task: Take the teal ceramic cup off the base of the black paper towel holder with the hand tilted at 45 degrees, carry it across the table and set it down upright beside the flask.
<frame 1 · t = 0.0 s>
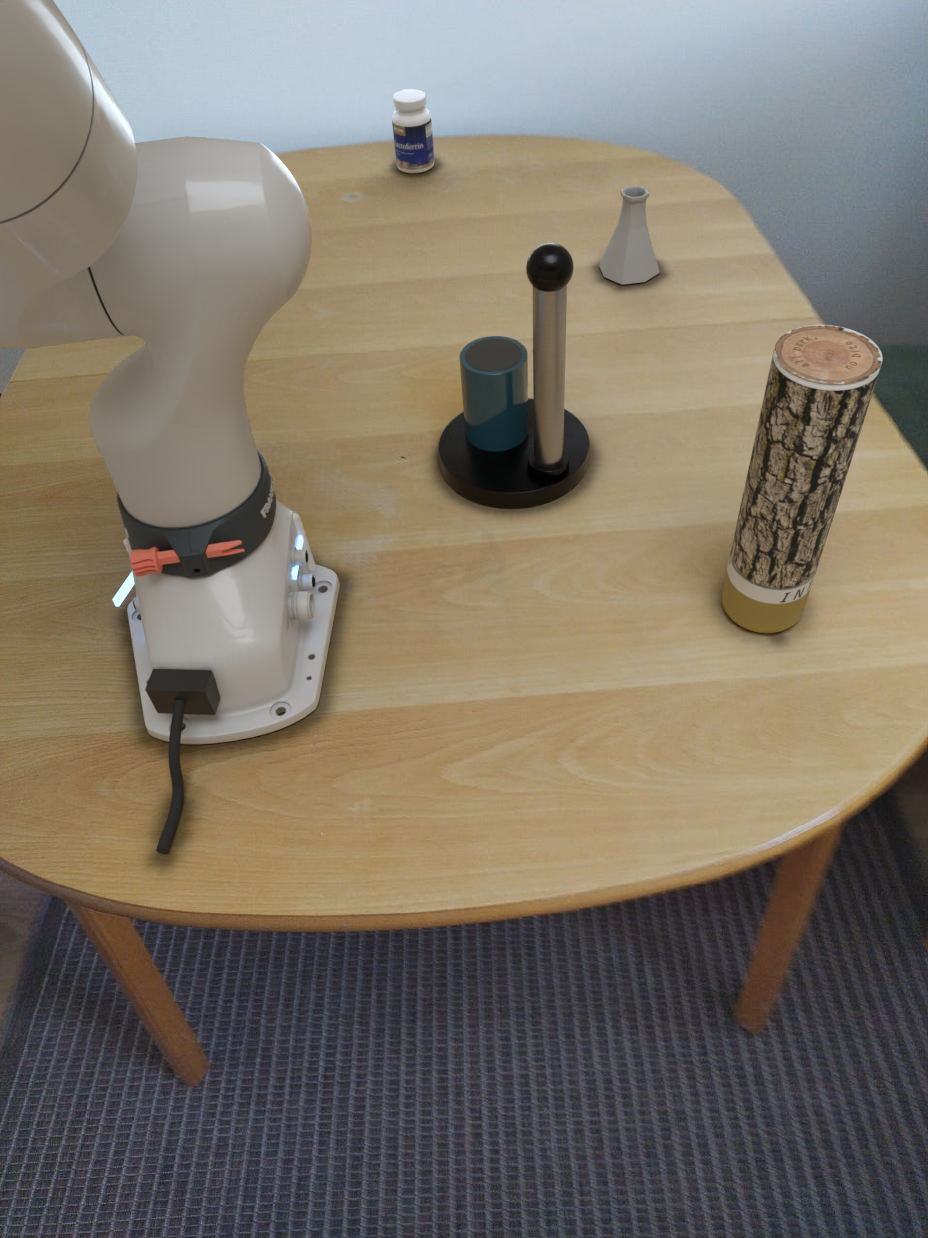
cup: (496, 431, 95), point 2 cm above the table, touching towel holder
paper tube: (760, 608, 81), on the table
flask: (628, 272, 118), on the table
pill bottle: (416, 167, 141), on the table
towel holder: (513, 458, 95), on the table
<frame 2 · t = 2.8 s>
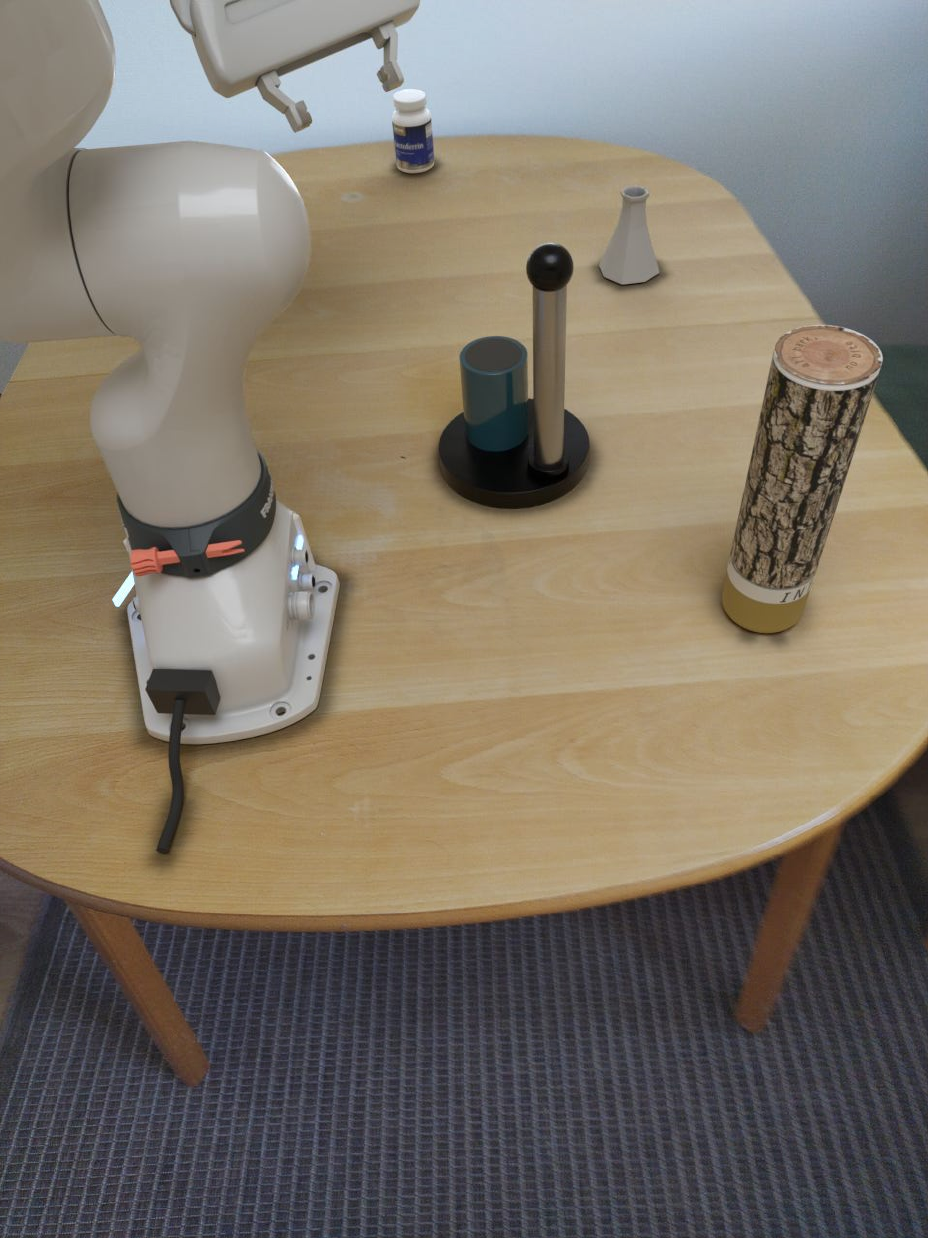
hand: (350, 106, 83), 29 cm above the table, tool tilted 35°, fingers open, 8 cm apart
nothing on the table moved.
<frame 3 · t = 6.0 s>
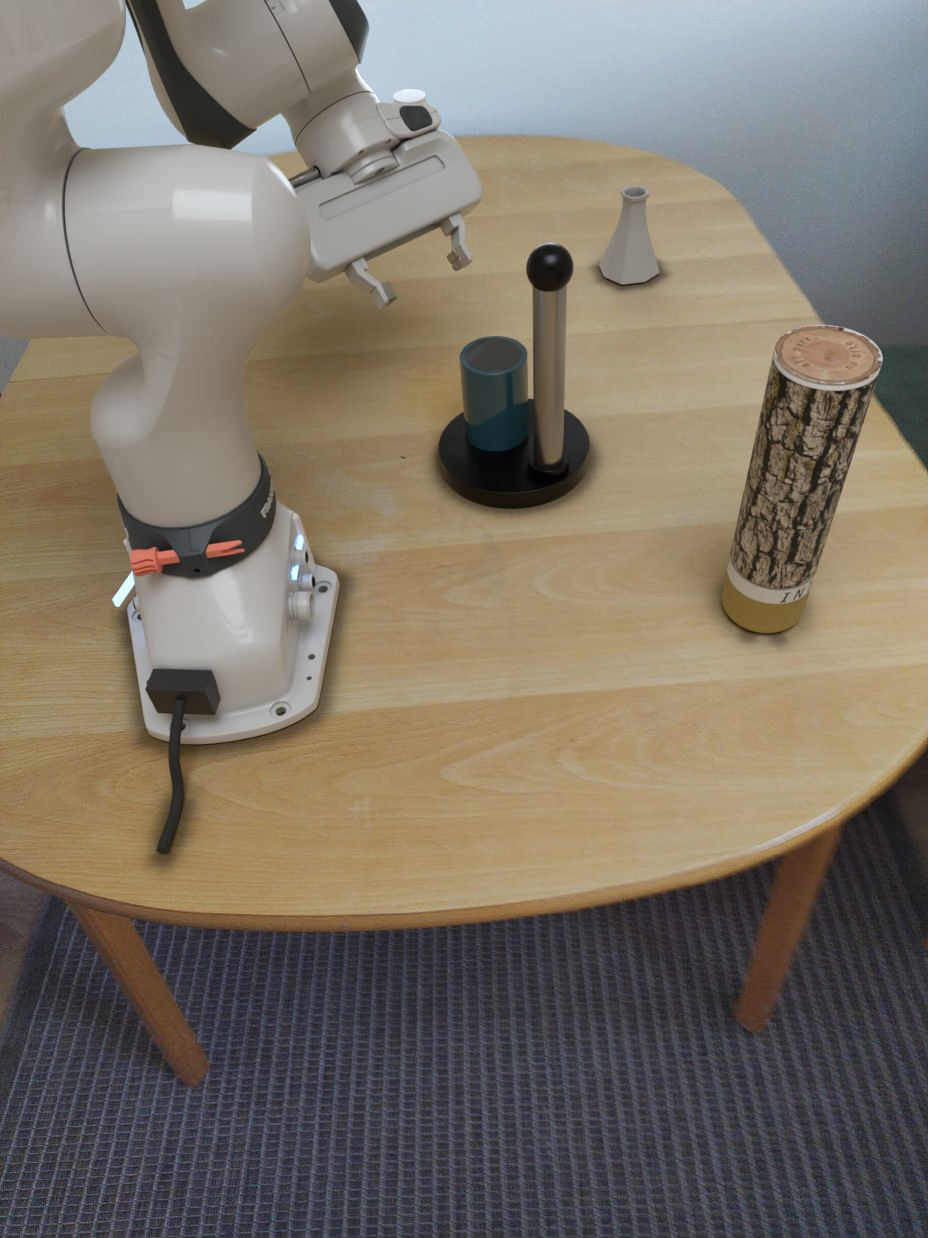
hand: (427, 284, 91), 14 cm above the table, tool tilted 45°, fingers open, 8 cm apart
nothing on the table moved.
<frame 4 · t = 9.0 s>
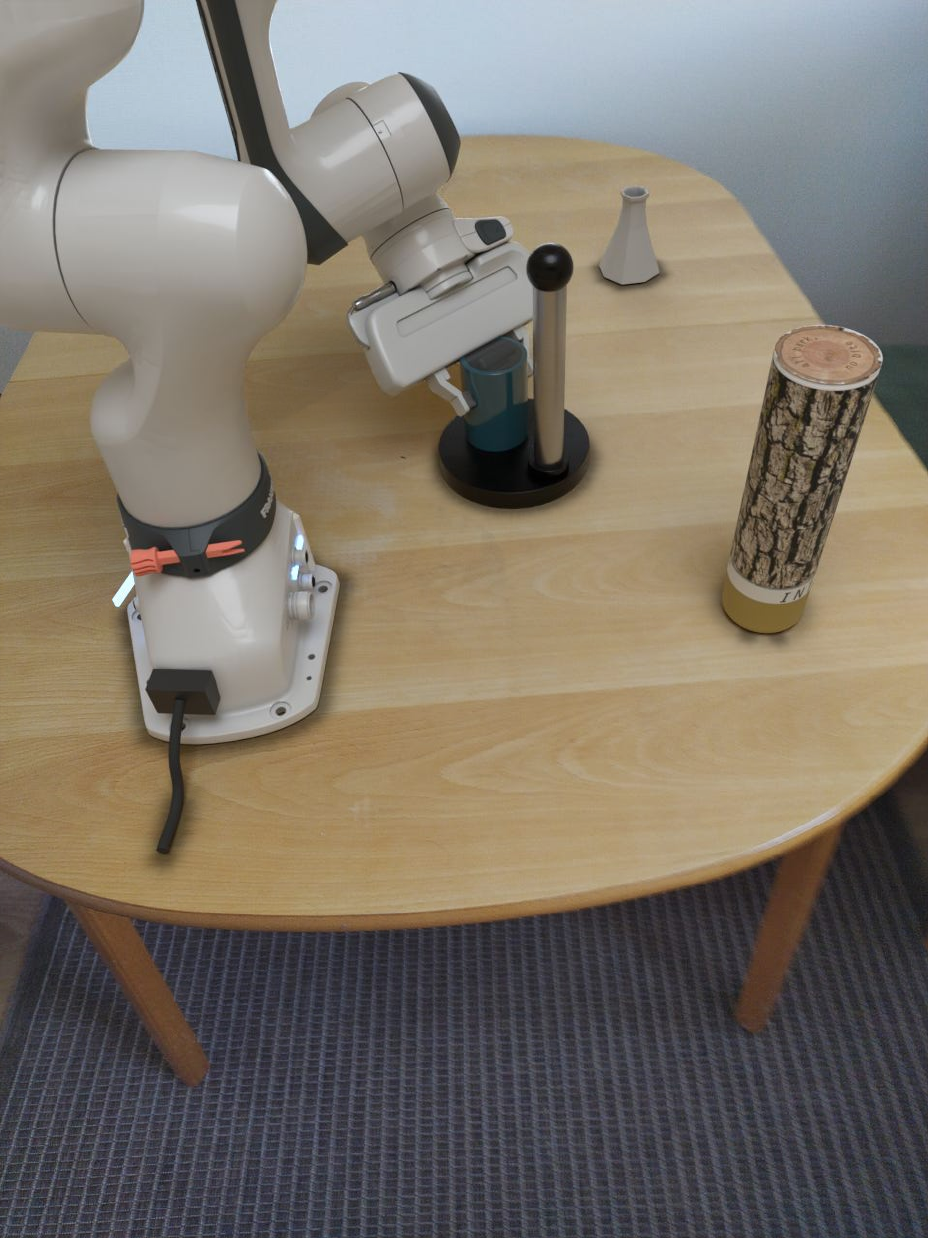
hand: (499, 394, 91), 7 cm above the table, tool tilted 45°, fingers closed on cup, 6 cm apart
cup: (496, 431, 95), point 2 cm above the table, touching gripper, towel holder
everything else where it was.
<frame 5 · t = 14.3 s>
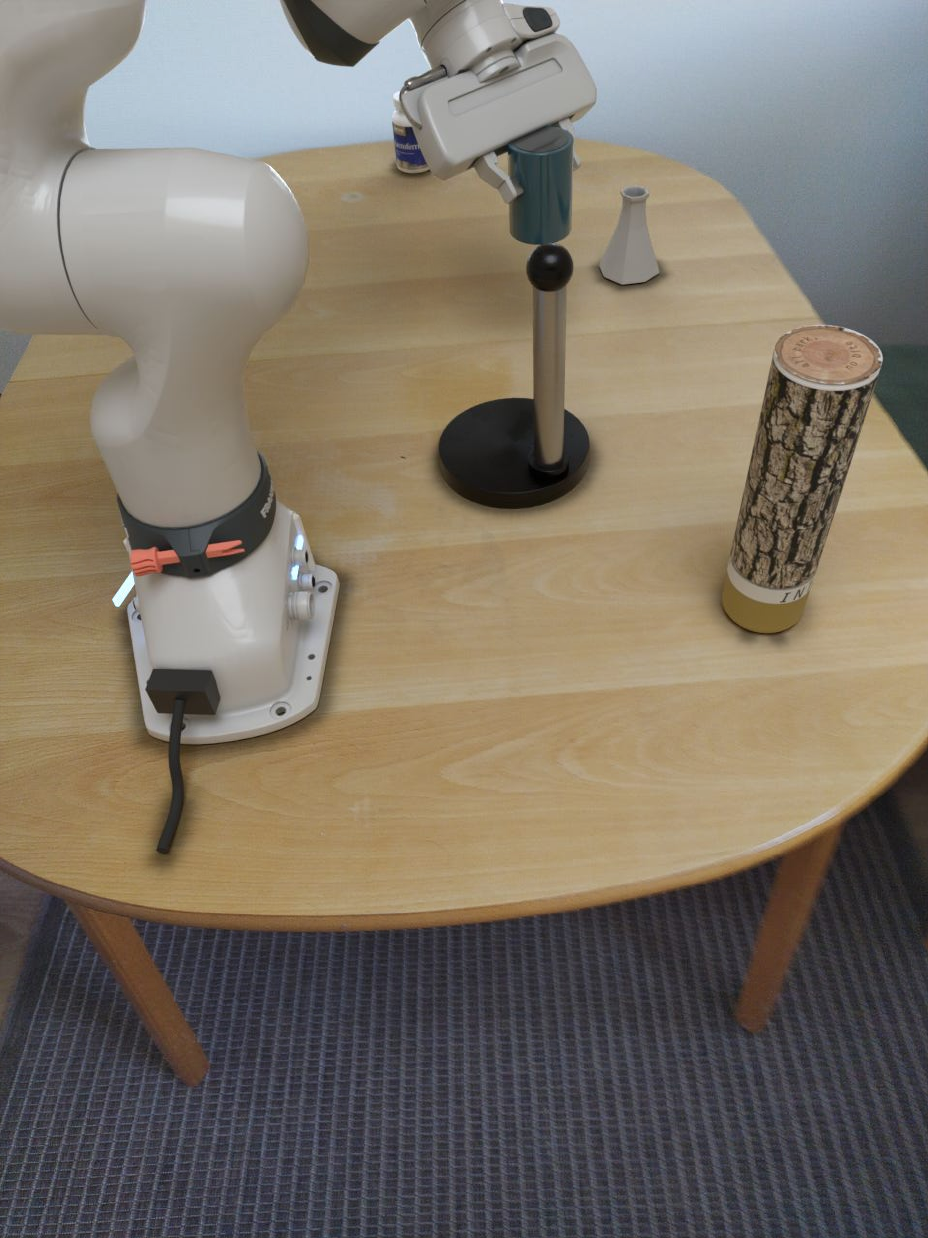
hand: (545, 184, 94), 19 cm above the table, tool tilted 45°, fingers closed on cup, 6 cm apart
cup: (540, 229, 98), point 14 cm above the table, touching gripper
everything else where it was.
when the fingers open (5 cm above the table, at t = 19.7 s): cup stays where it is, on the table.
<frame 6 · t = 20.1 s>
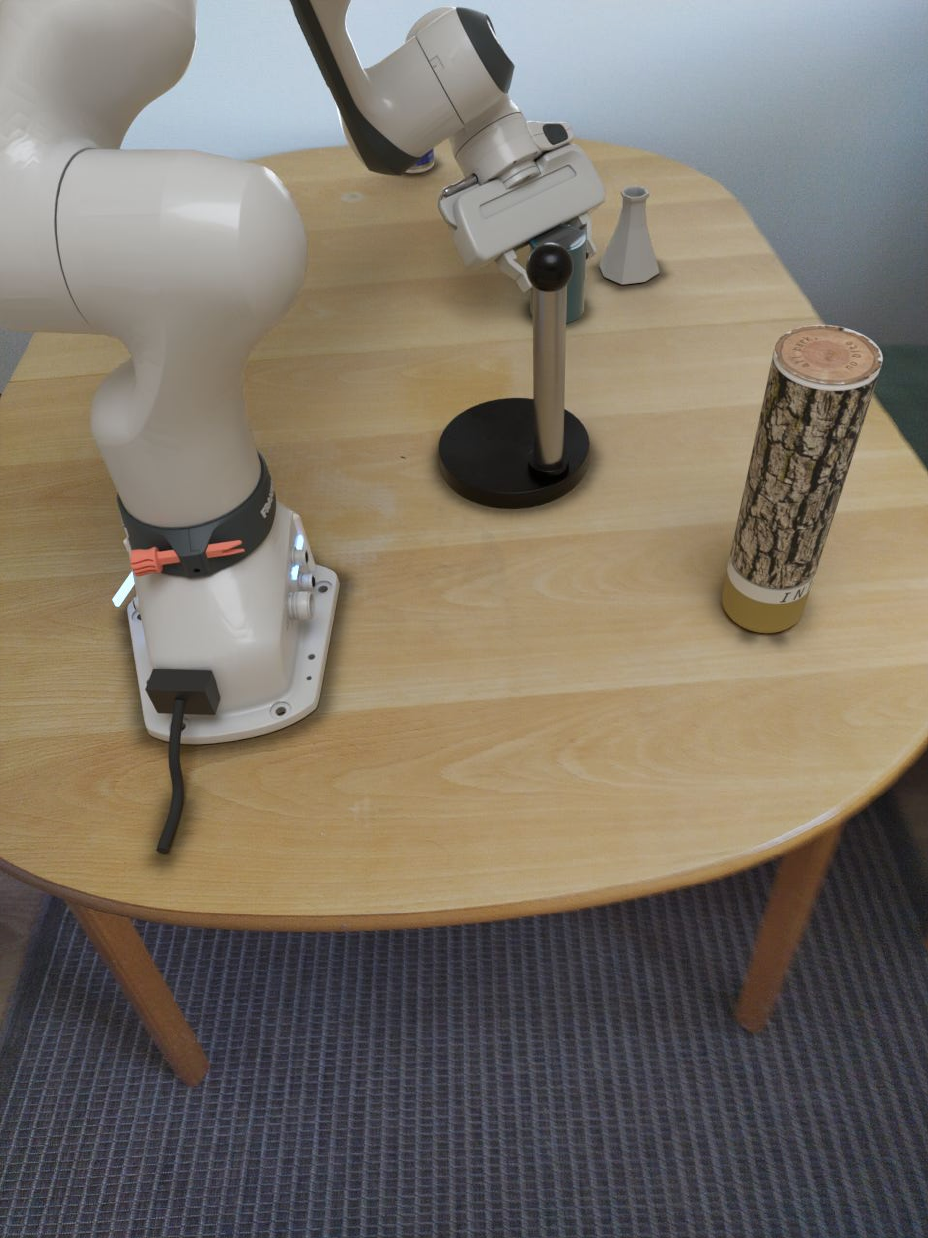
hand: (561, 272, 109), 5 cm above the table, tool tilted 45°, fingers open, 8 cm apart
cup: (556, 310, 113), on the table
everything else where it was.
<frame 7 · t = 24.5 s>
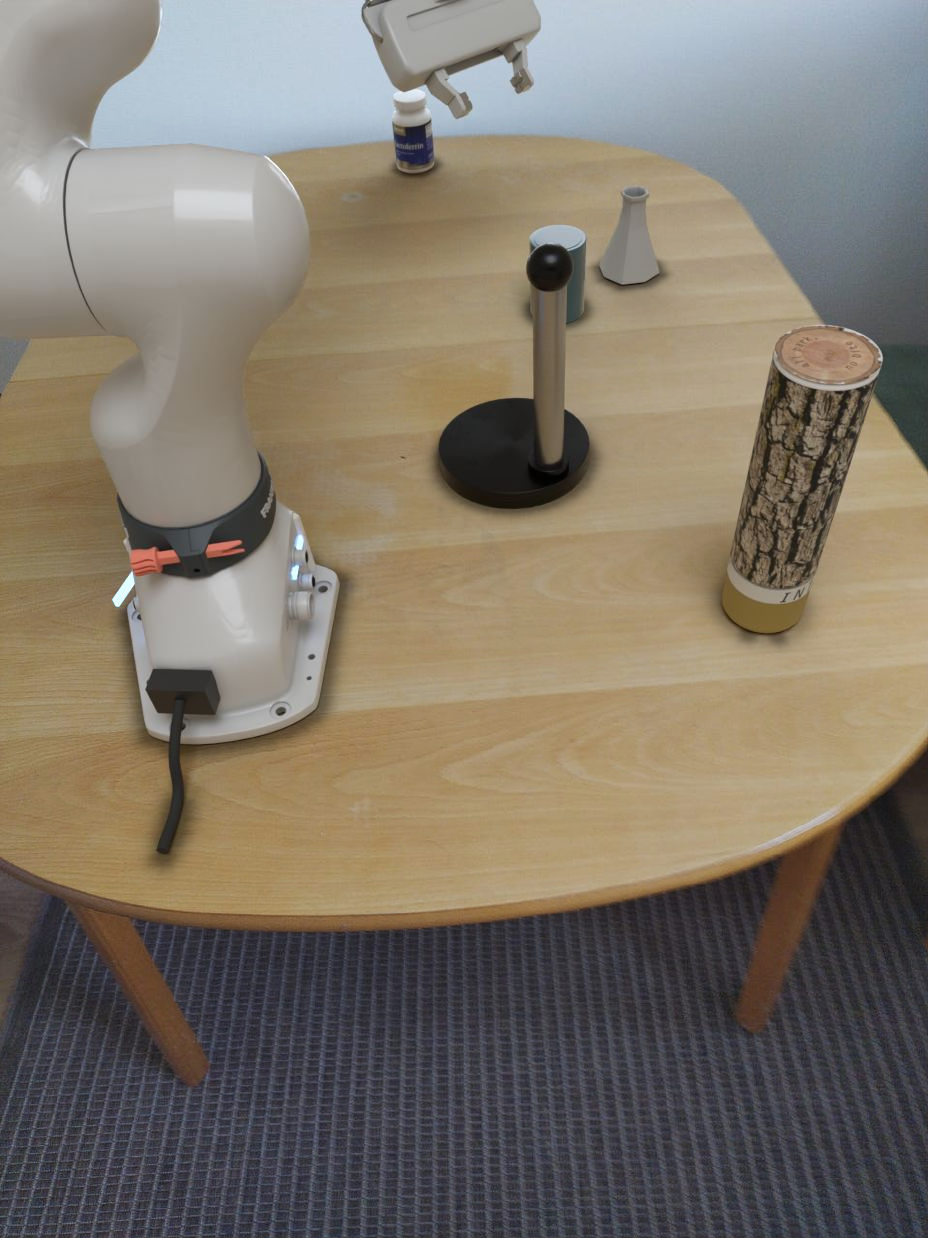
hand: (496, 101, 101), 21 cm above the table, tool tilted 45°, fingers open, 8 cm apart
nothing on the table moved.
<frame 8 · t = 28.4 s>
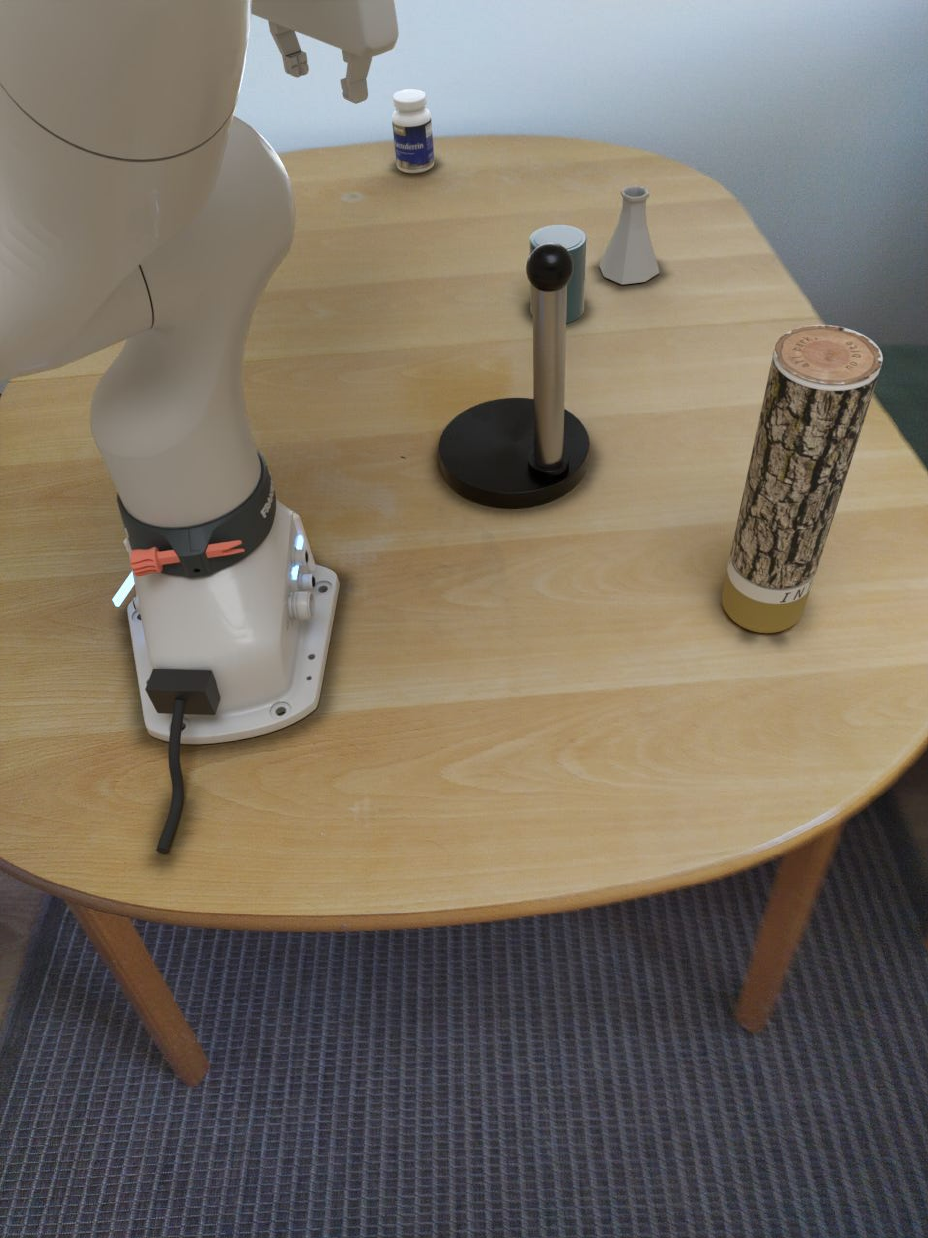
hand: (326, 86, 87), 29 cm above the table, tool pointing down, fingers open, 8 cm apart
nothing on the table moved.
at the end: cup 12.5 cm from the flask (horizontally); cup on the table; cup tilted 0° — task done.
